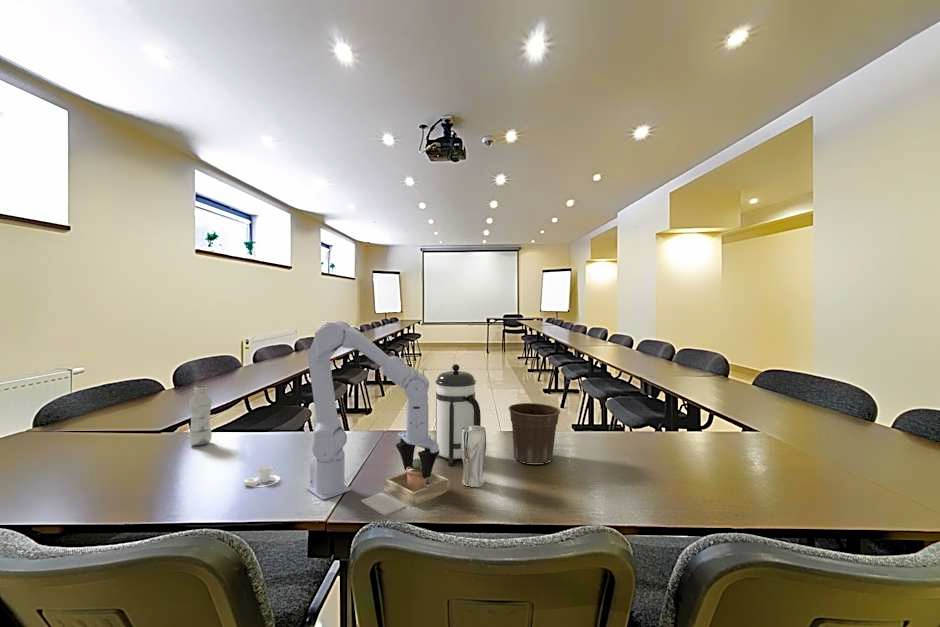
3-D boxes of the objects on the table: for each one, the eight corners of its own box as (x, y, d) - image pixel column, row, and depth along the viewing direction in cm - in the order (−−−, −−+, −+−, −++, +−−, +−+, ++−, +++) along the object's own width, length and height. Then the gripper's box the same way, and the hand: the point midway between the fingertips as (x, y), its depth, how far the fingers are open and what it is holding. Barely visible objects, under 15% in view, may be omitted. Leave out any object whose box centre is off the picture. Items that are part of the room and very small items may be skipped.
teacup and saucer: (241, 490, 110) (241, 475, 109) (248, 478, 117) (248, 464, 117) (277, 487, 112) (277, 472, 112) (282, 475, 120) (282, 461, 120)
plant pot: (556, 451, 141) (557, 403, 140) (562, 469, 124) (563, 416, 124) (508, 449, 142) (508, 402, 142) (507, 467, 126) (508, 414, 126)
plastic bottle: (190, 442, 146) (190, 385, 145) (213, 440, 148) (213, 384, 148) (186, 448, 140) (186, 389, 139) (210, 446, 143) (210, 387, 142)
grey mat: (361, 501, 103) (361, 500, 103) (381, 493, 107) (381, 492, 107) (384, 516, 96) (384, 514, 96) (405, 507, 100) (405, 505, 100)
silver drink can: (471, 475, 119) (471, 423, 119) (490, 482, 115) (491, 428, 115) (455, 483, 114) (455, 429, 114) (475, 491, 110) (475, 434, 109)
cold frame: (384, 490, 109) (384, 479, 109) (420, 477, 118) (420, 467, 118) (413, 506, 101) (413, 494, 101) (449, 490, 109) (449, 479, 109)
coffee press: (424, 465, 127) (424, 366, 127) (440, 447, 143) (440, 360, 142) (479, 470, 123) (480, 369, 123) (489, 452, 139) (490, 362, 138)
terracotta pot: (401, 491, 109) (401, 458, 109) (418, 484, 113) (418, 453, 113) (415, 498, 105) (415, 464, 105) (432, 491, 109) (432, 458, 109)
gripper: (447, 423, 107) (447, 476, 107) (412, 413, 117) (412, 461, 117) (426, 429, 102) (426, 484, 102) (391, 418, 112) (391, 468, 112)
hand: (417, 473), depth 109 cm, fingers open, 7 cm apart
